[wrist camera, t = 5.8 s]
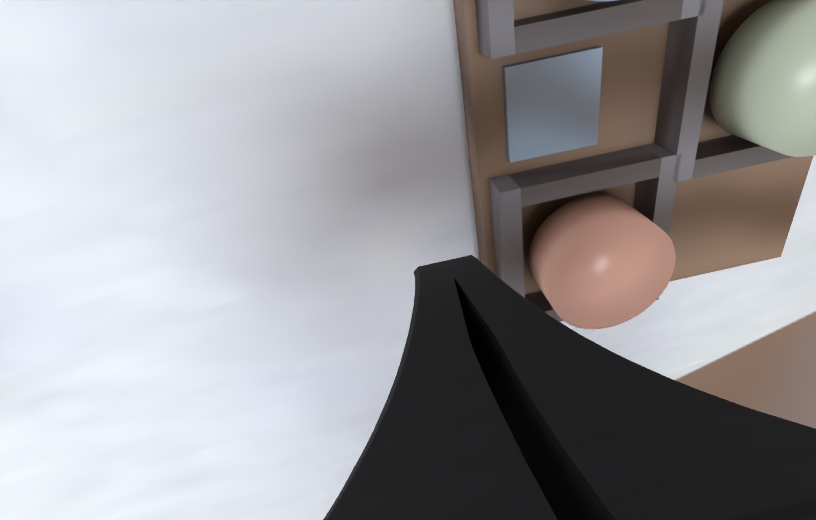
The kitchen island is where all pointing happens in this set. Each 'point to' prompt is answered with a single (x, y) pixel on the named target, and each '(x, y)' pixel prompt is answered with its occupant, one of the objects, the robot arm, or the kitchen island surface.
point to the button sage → (770, 79)
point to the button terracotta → (600, 261)
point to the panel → (614, 129)
